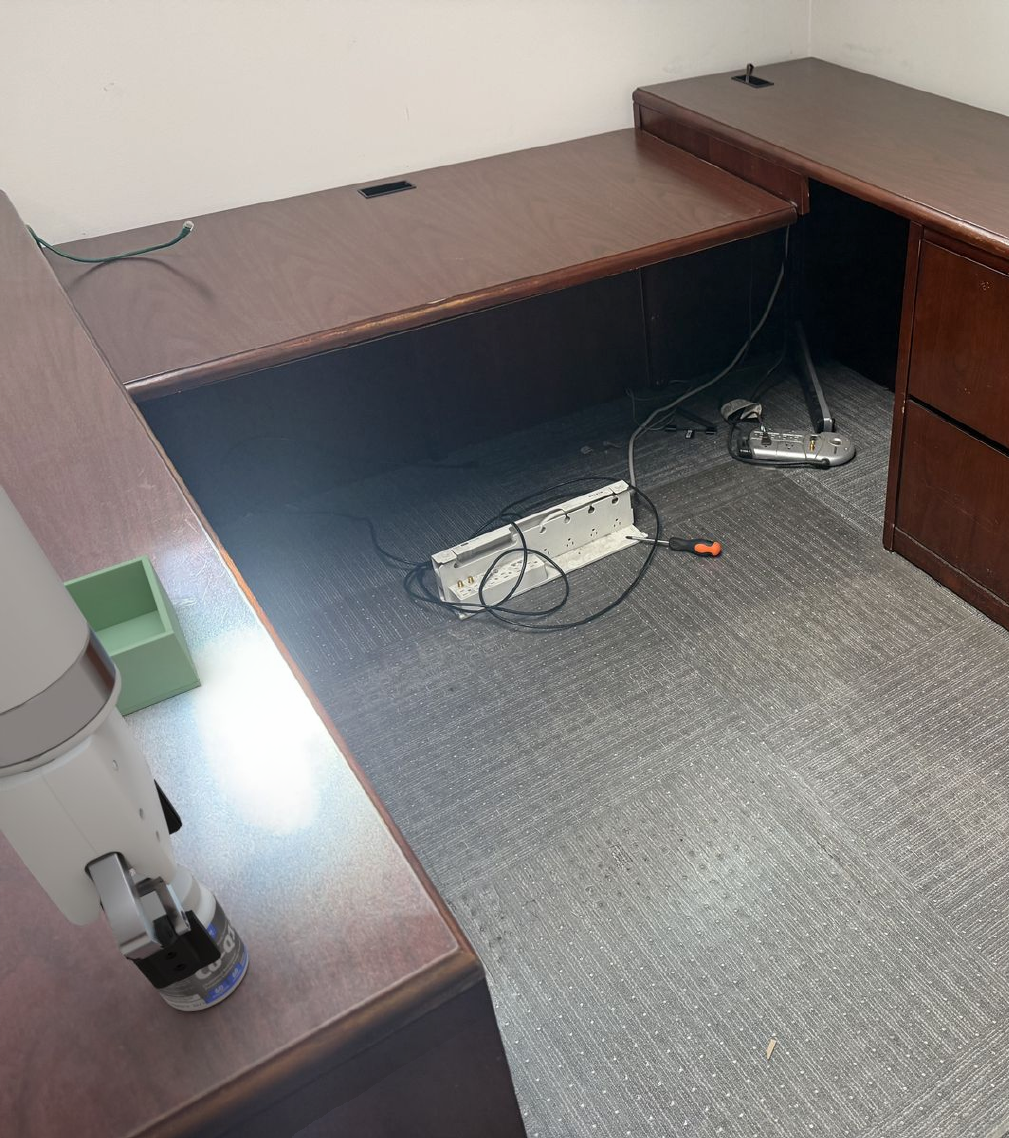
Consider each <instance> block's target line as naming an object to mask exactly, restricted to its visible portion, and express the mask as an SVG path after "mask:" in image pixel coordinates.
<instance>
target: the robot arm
mask: <svg viewBox="0 0 1009 1138" xmlns="http://www.w3.org/2000/svg"><path fill="white" fill-rule="evenodd" d="M63 583H64V582H63V581H62V579H61V578H60V576H59V575H58V573H57V572H56V570H55V568H54V567H53V565H52V563H51V562H50V560H49V558H48V557H47V556H46V554H45V552H44V550H43V549H42V547H41V546H40V544H39V543H38V541H37V540H36V538H35V537H34V535H33V534H32V532H31V531H30V529H29V527H28V526H27V524H26V522H25V521H24V519H23V518H22V516H21V514H20V513H19V511H18V510H17V508H16V507H15V505H14V503H13V501H12V500H11V498H10V496H8V494H7V492H6V491H5V489H4V487H3V486H2V484H1V483H0V831H1V832H2V834H3V836H4V837H5V839H6V840H7V841H8V843H9V844H10V845H11V847H12V848H13V849H14V851H15V852H16V854H17V856H18V857H19V858H20V860H21V861H22V863H24V866H26V867H27V869H28V870H29V872H30V873H31V874H32V876H33V877H34V878H35V879H36V881H37V882H38V883H39V885H40V886H41V887H42V889H43V890H44V891H45V893H46V894H47V895H48V896H49V898H50V899H51V901H52V902H53V903H54V904H55V906H56V907H57V908H58V909H59V911H60V912H61V913H62V915H63V916H64V917H65V919H67V920H68V922H69V923H71V924H73V925H76V926H79V927H85V926H88V925H89V924H91V923H93V922H95V921H98V920H100V919H101V910H102V911H103V913H104V915H105V917H106V919H107V921H108V923H109V925H110V928H111V931H112V934H113V936H114V938H115V941H116V944H117V947H118V949H119V951H120V952H121V954H122V955H123V956H124V957H125V959H126V960H129V961H131V962H132V963H133V964H134V965H135V966H136V967H137V968H138V970H139V971H140V972H141V973H142V974H143V976H144V977H145V978H146V979H147V980H148V981H149V983H150V984H151V985H152V986H153V987H154V988H155V989H156V990H157V989H162V988H165V987H168V986H169V985H171V984H173V983H175V982H179V981H181V980H184V979H186V978H188V977H190V976H192V975H193V974H195V973H196V972H197V971H198V970H200V969H202V968H204V967H206V966H208V965H210V964H212V963H214V962H216V961H217V960H219V959H220V957H221V953H220V950H219V946H218V945H217V944H216V942H215V941H214V939H213V938H212V937H211V935H210V934H209V933H208V931H207V930H206V929H205V927H204V926H203V924H202V923H201V922H200V920H199V919H198V918H197V916H196V915H195V913H194V912H193V911H192V910H190V911H185V912H184V910H183V908H182V906H181V904H180V902H179V900H178V898H177V896H176V894H175V892H174V890H173V888H172V886H171V882H172V881H173V879H174V877H175V875H176V873H177V863H178V862H177V858H176V854H175V851H174V846H173V843H172V839H171V835H173V834H175V833H177V832H179V831H180V829H181V828H183V821H182V819H181V816H180V815H179V813H178V812H177V810H176V808H175V807H174V805H173V804H172V803H171V801H170V800H169V798H168V797H167V795H166V794H165V792H164V791H163V789H162V788H161V786H160V784H159V783H158V781H157V780H156V779H155V778H154V777H153V773H152V770H151V767H150V764H149V763H148V759H147V757H146V755H145V752H144V751H143V748H142V747H141V745H140V743H139V741H138V740H137V738H136V736H135V734H134V732H133V731H132V729H131V728H130V726H129V724H128V723H127V721H126V720H125V718H124V716H122V715H121V714H120V712H119V711H118V709H117V708H116V706H115V705H116V703H117V701H118V697H119V694H120V691H121V686H122V685H121V676H120V672H119V670H118V668H117V667H116V665H115V663H114V662H113V661H112V659H111V658H110V656H109V654H108V653H107V651H106V650H105V648H104V646H103V645H102V643H101V642H100V640H99V639H98V637H97V635H96V634H95V632H94V631H93V629H92V628H91V626H90V624H89V623H88V621H87V620H86V618H85V617H84V615H83V614H82V613H81V611H80V609H79V608H78V606H77V605H76V603H75V602H74V600H73V598H72V597H71V595H70V594H69V592H68V590H67V589H66V587H65V586H64V584H63ZM130 870H133V871H134V872H135V874H136V873H138V874H141V875H143V876H146V877H148V878H145V879H143V880H141V881H139V882H137V883H135V884H134V881H133V879H132V876H133V875H132V874H131V871H130ZM153 891H155V892H156V894H157V896H158V898H159V900H160V902H161V904H162V906H163V908H164V910H165V912H166V914H165V915H163V916H161V917H159V918H157V919H155V920H153V921H151V920H150V919H149V917H148V916H147V914H146V912H145V909H144V907H143V904H142V902H141V899H140V898H141V897H143V896H145V895H147V894H149V893H151V892H153Z"/></svg>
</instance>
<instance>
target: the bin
mask: <svg viewBox="0 0 1009 1138" xmlns="http://www.w3.org/2000/svg"><path fill="white" fill-rule="evenodd" d="M62 583H63V584H64V586H65V587H66V589H67V590H68V592H69V594H70V595H71V597H72V598H73V600H74V602H75V603H76V605H77V606H78V608H79V609H80V611H81V613H82V614H83V615H84V617H85V618H86V620H87V621H88V623H89V624H90V626H91V628H92V629H93V631H94V632H95V634H96V635H97V637H98V639H99V640H100V642H101V643H102V645H103V646H104V648H105V650H106V651H107V653H108V654H109V656H110V658H111V659H112V661H113V662H114V663H115V665H116V667H117V668H118V670H119V672H120V676H121V685H122V686H121V691H120V694H119V697H118V701H117V703H116V705H115V706H116V708H117V709H118V711H119V712H120V714H121V715H122V717H124V716H127V715H129V714H132V713H135V712H136V711H139V710H142V709H144V708H147V707H149V706H152V705H155V704H157V703H159V702H162V701H165V700H167V699H170V698H172V697H175V696H177V695H180V694H182V693H185V692H188V691H190V690H193V689H195V688H198V687H200V686H201V685H202V683H201V680H200V677H199V674H198V671H197V669H196V666H195V663H194V660H193V657H192V654H191V651H190V649H189V647H188V643H187V640H186V637H185V635H184V632H183V629H182V626H181V624H180V620H179V618H178V615H177V612H176V609H175V607H174V604H173V602H172V600H171V598H170V596H169V594H168V592H167V591H166V588H165V587H164V584H163V583H162V581H161V579H160V577H159V575H158V573H157V570H156V569H155V568H154V565H153V563H152V561H151V560H150V557H149V556H148V554H145V555H141V556H138V557H136V558H135V557H134V558H132V559H130V560H125V561H123V562H120V563H116V564H115V565H111V566H108V567H105V568H102V569H99V570H96V571H94V572H91V573H88V574H85V575H82V576H79V577H76V578H73V579H70V580H66V581H64V582H62Z"/></svg>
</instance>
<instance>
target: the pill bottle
mask: <svg viewBox="0 0 1009 1138" xmlns="http://www.w3.org/2000/svg"><path fill="white" fill-rule="evenodd" d="M131 876H132V879H133V881H134V884H135V883H137V882H139V881H141V880H143V879H145V878H148V877H146V876H143V875H141V874H138V873H136V872H135V873H134V874H133V875H131ZM171 886H172V888H173V890H174V892H175V894H176V896H177V898H178V900H179V902H180V904H181V906H182V908H183V910H184V912H185V911H190V910H192V911H193V912H194V913H195V915H196V916H197V918H198V919H199V920H200V922H201V923H202V924H203V926H204V927H205V929H206V930H207V931H208V933H209V934H210V935H211V937H212V938H213V939H214V941H215V942H216V944H217V945H218V946H219V950H220V953H221V957H220V959H219V960H217V961H216V962H214V963H212V964H210V965H208V966H206V967H204V968H202V969H200V970H198V971H197V972H196V973H195V974H193V975H192V976H190V977H188V978H186V979H184V980H181V981H179V982H175V983H173V984H171V985H169V986H168V987H165V988H162V989H156V990H157V992H158V993H159V995H160V996H161V997H162V998H163V999H164V1001H165V1002H166V1003H167V1004H168V1005H169V1006H170V1007H172V1008H174V1009H176V1010H180V1011H183V1012H193V1011H194V1012H195V1011H202V1010H205V1009H208V1008H210V1007H213V1006H214V1005H217V1004H219V1003H220V1002H222V1001H223V1000H224V999H225V998H227V997H228V996H229V995H231V994H232V993H233V992H234V991H235V990H236V988H237V987H238V986H239V985H240V983H241V981H242V980H243V978H244V976H245V974H246V972H247V970H248V967H249V966H248V965H249V961H250V959H249V952H248V949H247V947H246V945H245V943H244V942H243V940H242V938H241V937H240V935H239V934H238V932H237V930H236V928H235V927H234V925H233V924H232V922H231V920H230V918H229V917H228V916H227V915H226V912H225V911H224V909H223V907H222V906H221V905H220V903H219V901H218V899H217V897H216V896H215V894H214V893H213V891H212V890H211V889H210V888H209V887H208V885H206V884H204V883H203V882H200V881H198V880H197V879H196V878H195V877H194V875H193V874H192V872H191V870H190V869H189V868H188V867H186V866H185V865H183V864H181V863H179V862H177V873H176V875H175V877H174V879H173V881H172V882H171ZM140 899H141V902H142V904H143V907H144V909H145V912H146V914H147V916H148V917H149V919H150V920H151V921H153V920H155V919H157V918H159V917H161V916H163V915H165V914H166V912H165V910H164V908H163V906H162V904H161V902H160V900H159V898H158V896H157V894H156V892H155V891H153V892H151V893H149V894H147V895H145V896H143V897H141V898H140Z"/></svg>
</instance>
